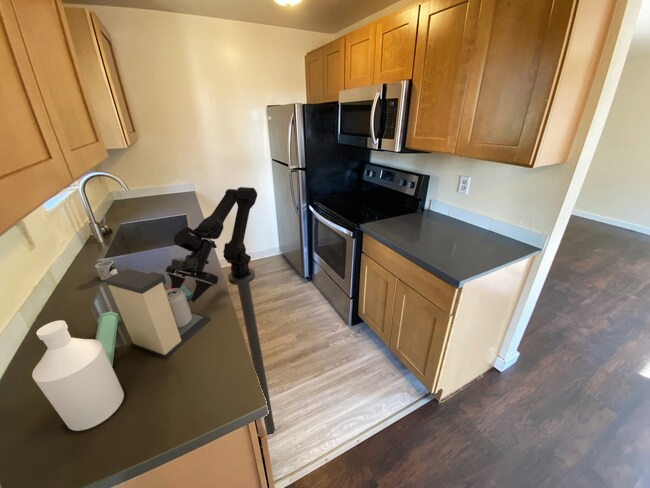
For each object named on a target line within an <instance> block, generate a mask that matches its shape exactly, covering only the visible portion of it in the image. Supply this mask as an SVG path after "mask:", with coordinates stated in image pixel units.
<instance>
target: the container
mask: <svg viewBox="0 0 650 488" xmlns="http://www.w3.org/2000/svg"><path fill="white" fill-rule="evenodd" d="M120 320H121V319H120V316H119V314H118V313H116V312H113V311H107V312H104V313H101V314H100V315H99V317H98V319H97V323H98V326H97V331H96V335H95V340H98V341H100V343H101V344H102V346H103V348H104V350H105V353H106V355H107V357H108V359H109V361H110V364H111V366H112V367H113V366H114V365H113V364H114V357H115V347H116V339H117V332H118V324H119V322H120Z"/></svg>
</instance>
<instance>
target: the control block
mask: <svg viewBox="0 0 650 488" xmlns="http://www.w3.org/2000/svg"><path fill="white" fill-rule="evenodd" d="M180 289H181V290H182V291H183V292H185V295H186V298H187V301H188V300H192V296H193V293H192V292H191V291H190V289H189V288H188V287H187V286H186V285H181V287H180ZM167 290H168V289H165V291H167Z"/></svg>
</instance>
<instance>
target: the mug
mask: <svg viewBox="0 0 650 488" xmlns="http://www.w3.org/2000/svg"><path fill="white" fill-rule="evenodd" d="M94 267H95V269H96V271H97V274H98V276H99V279H100V280H101V281H105V280H104V279H106V278H109V277H111V276H113V275H115V274H117V273H119V272H118V269H117V268H116V265H115V262H114V260H111V259H109V260H103V261H100V262H98V263H96V264H95V265H94Z"/></svg>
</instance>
